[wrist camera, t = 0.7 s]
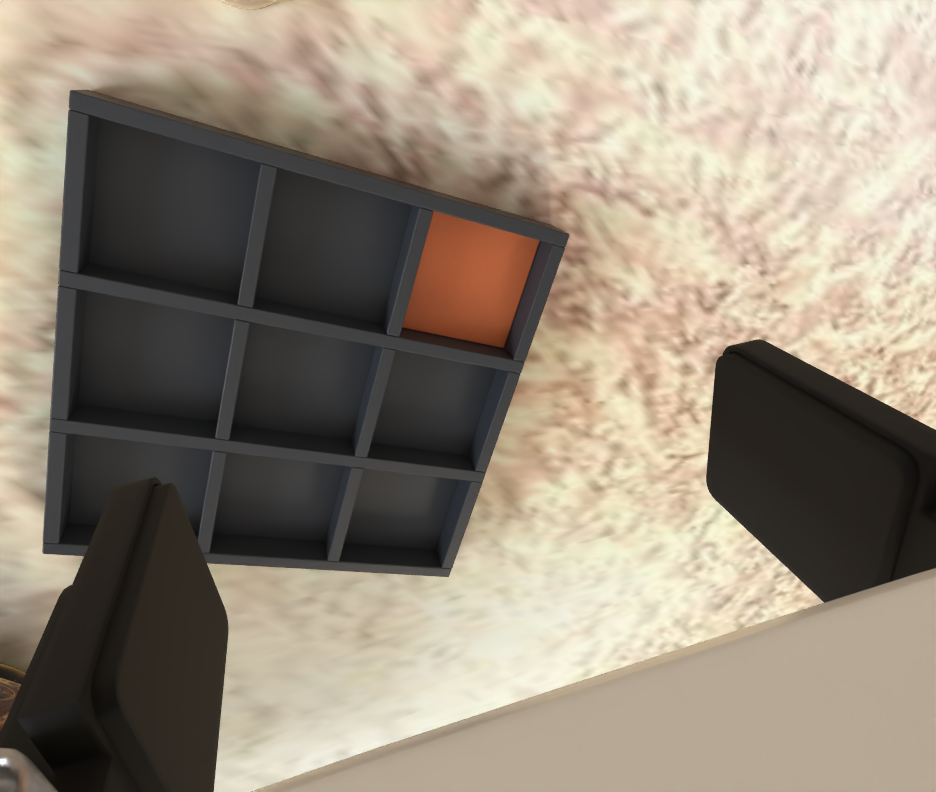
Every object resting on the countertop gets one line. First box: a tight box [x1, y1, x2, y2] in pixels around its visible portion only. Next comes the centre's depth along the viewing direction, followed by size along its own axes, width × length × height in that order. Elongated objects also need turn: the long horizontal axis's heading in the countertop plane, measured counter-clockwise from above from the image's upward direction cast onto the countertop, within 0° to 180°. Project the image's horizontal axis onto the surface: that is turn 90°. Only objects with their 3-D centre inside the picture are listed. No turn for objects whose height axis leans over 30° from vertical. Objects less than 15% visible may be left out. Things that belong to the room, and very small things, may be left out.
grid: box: [42, 90, 569, 577], centre depth 33 cm, size 22×22×2 cm
